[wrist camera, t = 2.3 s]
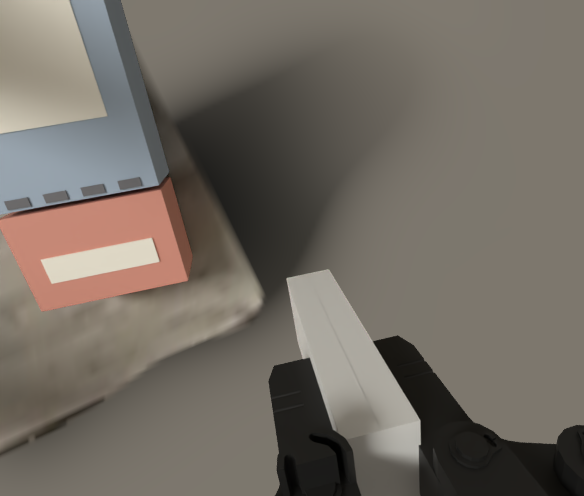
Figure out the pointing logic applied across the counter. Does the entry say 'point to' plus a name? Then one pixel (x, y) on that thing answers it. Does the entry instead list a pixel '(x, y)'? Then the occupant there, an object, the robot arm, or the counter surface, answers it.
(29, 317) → the counter surface
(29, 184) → the blue labeled box
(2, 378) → the counter surface
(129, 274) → the red box
